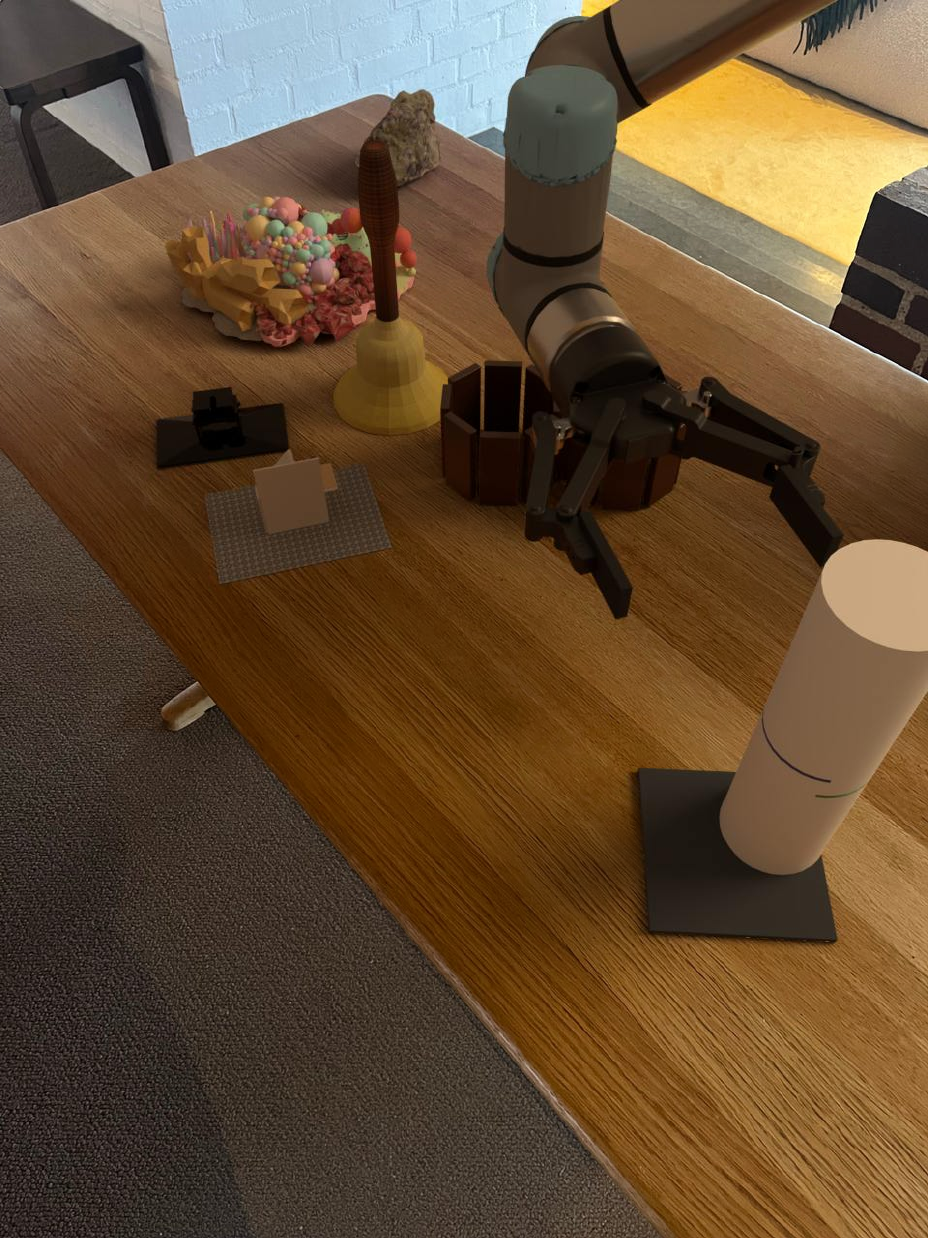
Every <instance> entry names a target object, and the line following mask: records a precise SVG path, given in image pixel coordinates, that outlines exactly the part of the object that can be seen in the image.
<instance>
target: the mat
mask: <svg viewBox="0 0 928 1238" xmlns="http://www.w3.org/2000/svg"><path fill="white" fill-rule="evenodd" d="M735 774H736V771H721V770H701V769H700V770H698V769H678V768H677V769H676V768H674V769H673V768H657V767H655V768H654V767H653V768H652V767H638V769H637V780H638V781H637V782H639V784H638V796H639V797H640V799H639V811H640V812H641V814H640V827H641V826H642V829H641V842H643V844H642V855H643V854H644V859H643V871H644V873H643V874H644V888H645V901H646V919H647V932H648V931H649V932H648V933H649V934H658V933H664V934H663V935H678V934H682V935H681V936H698V935H699V937H700V936H701V935H706V936H705V937H718V938H737V937H741V938H740V939H747V938H746V937H750V938H749V939H757V938H761V940H763V939H762V938H768V939H767V940H777V939H784V940H783V941H796V940H799V942H804V941H803V940H806V941H805V942H816V941H822V942H821V943H826V942H825V941H829V942H828V943H837V941H838V940H839V939H838V933H837V929H836V924H835V918H834V913H833V909H832V908H833V907H832V903H831V898H830V892H829V887H828V882H827V876H826V871H825V867H824V861H823V856H822V854H821V855H820V857H819V858H818V859H817V860H816V861H815V862H814V863H813V865H812V866H810V867H808V868H807V869H805V870H803V871H801V872H798V873H795V874H788V875H777V874H770V873H766V872H762V871H760V870H757V869H755V868H753V867H751V866H750V865H748V864H746V863H745V862H743V861H742V860H741V859H740V858H739V857H738V856H737V855H735V853H734V852H733V851H732V850H731V848H730V847H729V846H728V844H727V842H726V840H725V839H724V837H723V834H722V831H721V827H720V811H721V807H722V804H723V802H724V799H725V797H726V795H727V792H728V790H729V788H730V785H731V783H732V781H733V778H734V776H735ZM639 797H638V798H639ZM640 809H641V810H640ZM726 936H727V937H726ZM701 937H702V936H701Z"/></svg>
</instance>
